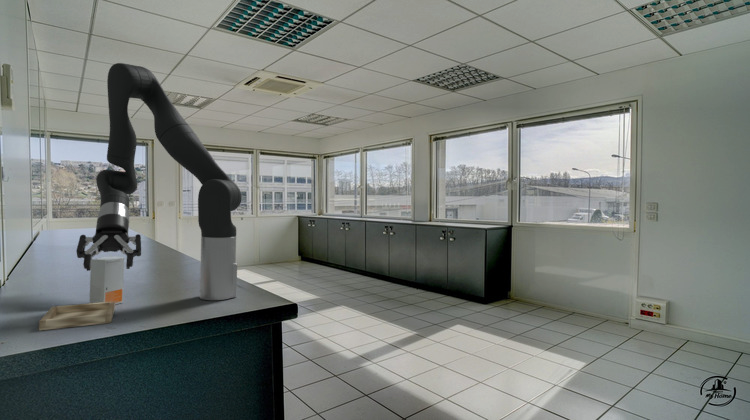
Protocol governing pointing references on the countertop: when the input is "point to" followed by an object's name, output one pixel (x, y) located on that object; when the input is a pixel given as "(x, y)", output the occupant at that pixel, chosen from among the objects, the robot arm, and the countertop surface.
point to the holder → (77, 315)
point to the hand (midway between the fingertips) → (108, 268)
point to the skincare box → (107, 280)
